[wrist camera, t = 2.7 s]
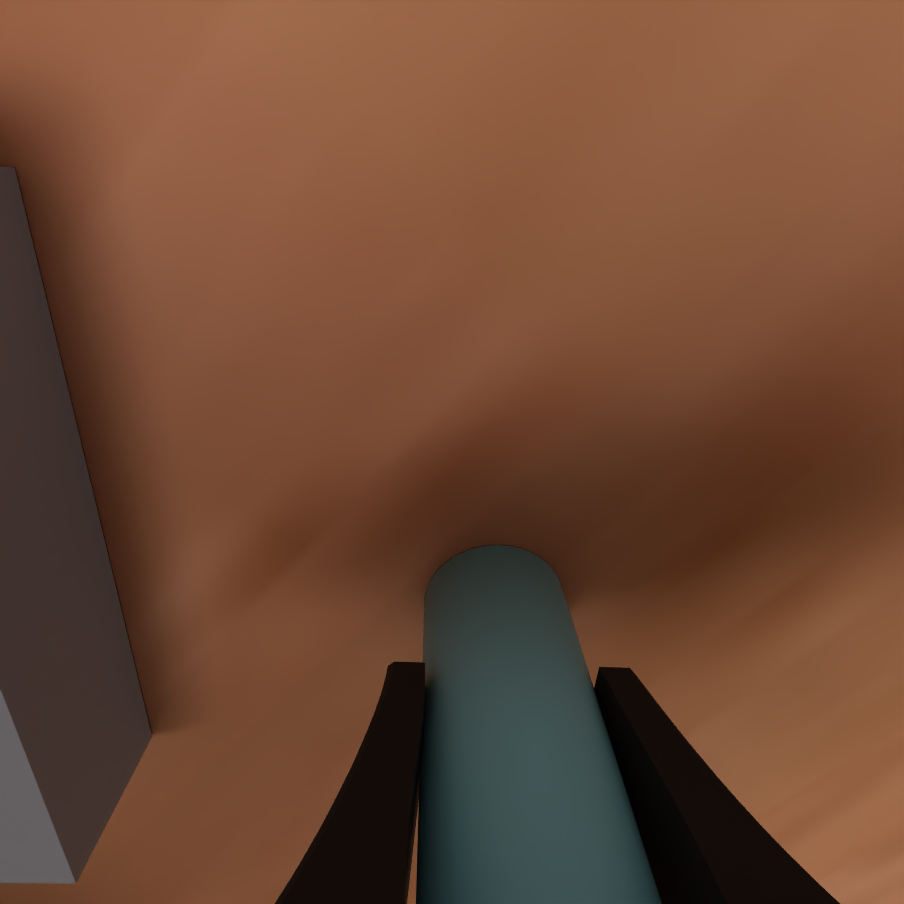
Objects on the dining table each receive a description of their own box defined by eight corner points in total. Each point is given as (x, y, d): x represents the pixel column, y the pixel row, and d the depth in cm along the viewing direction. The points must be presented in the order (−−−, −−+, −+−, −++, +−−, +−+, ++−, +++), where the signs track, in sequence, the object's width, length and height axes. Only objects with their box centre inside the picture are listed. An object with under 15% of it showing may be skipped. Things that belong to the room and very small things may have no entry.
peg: (552, 656, 15) (667, 1119, 7) (422, 653, 14) (407, 1122, 7) (572, 547, 13) (740, 989, 6) (427, 542, 13) (416, 990, 6)
